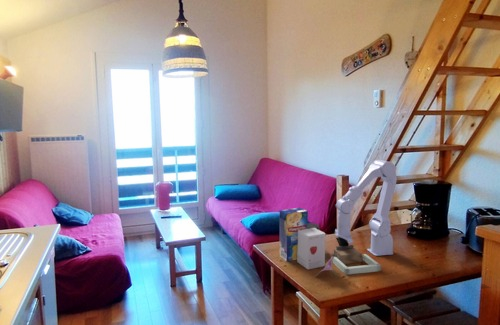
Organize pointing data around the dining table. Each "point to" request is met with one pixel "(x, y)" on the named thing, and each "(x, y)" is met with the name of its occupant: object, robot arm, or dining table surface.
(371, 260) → the bay
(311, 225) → the jar
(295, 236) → the beverage box
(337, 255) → the cart
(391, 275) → the dining table surface
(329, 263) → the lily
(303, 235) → the supplement box
